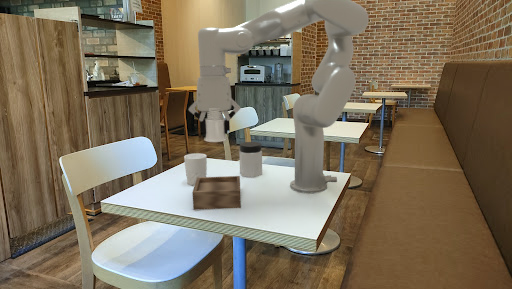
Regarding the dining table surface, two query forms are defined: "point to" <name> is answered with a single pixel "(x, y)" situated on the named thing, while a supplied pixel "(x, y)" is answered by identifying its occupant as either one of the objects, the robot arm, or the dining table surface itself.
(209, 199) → the walnut stand
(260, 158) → the jar
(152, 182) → the dining table surface
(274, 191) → the dining table surface
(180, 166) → the dining table surface
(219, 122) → the downlight
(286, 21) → the robot arm
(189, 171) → the white cup
